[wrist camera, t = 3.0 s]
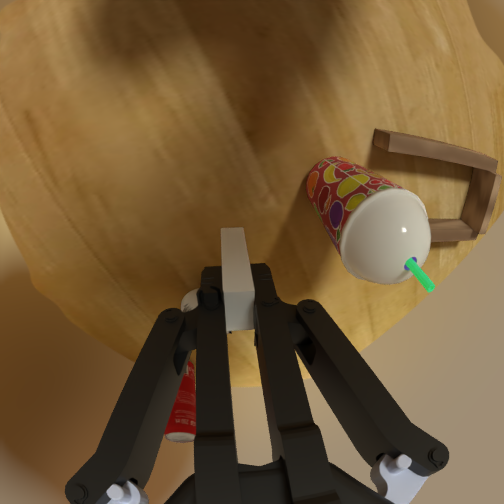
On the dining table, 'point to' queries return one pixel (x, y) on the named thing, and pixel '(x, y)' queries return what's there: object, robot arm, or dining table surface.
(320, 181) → the smoothie
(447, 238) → the u rest
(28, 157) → the dining table surface
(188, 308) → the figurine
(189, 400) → the beverage can
